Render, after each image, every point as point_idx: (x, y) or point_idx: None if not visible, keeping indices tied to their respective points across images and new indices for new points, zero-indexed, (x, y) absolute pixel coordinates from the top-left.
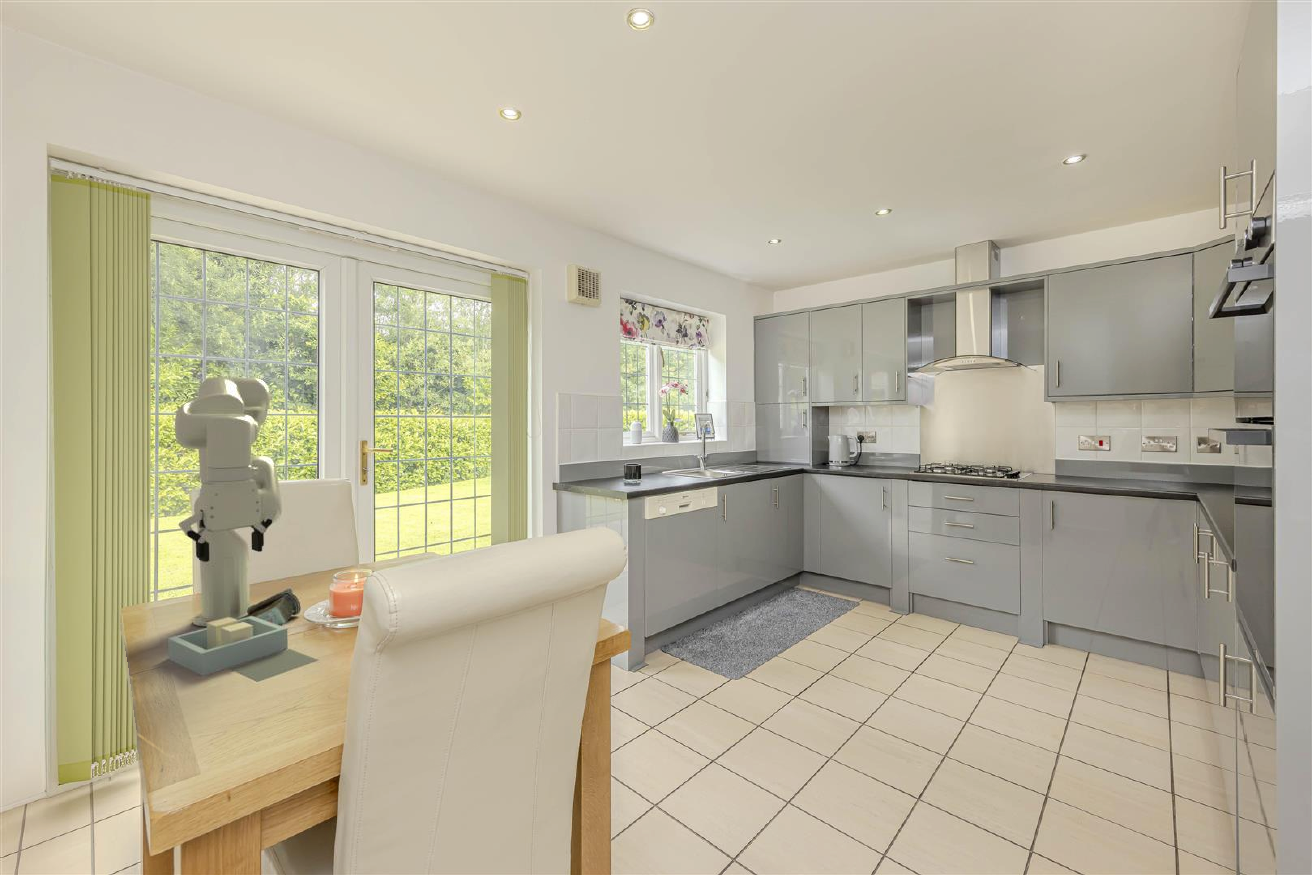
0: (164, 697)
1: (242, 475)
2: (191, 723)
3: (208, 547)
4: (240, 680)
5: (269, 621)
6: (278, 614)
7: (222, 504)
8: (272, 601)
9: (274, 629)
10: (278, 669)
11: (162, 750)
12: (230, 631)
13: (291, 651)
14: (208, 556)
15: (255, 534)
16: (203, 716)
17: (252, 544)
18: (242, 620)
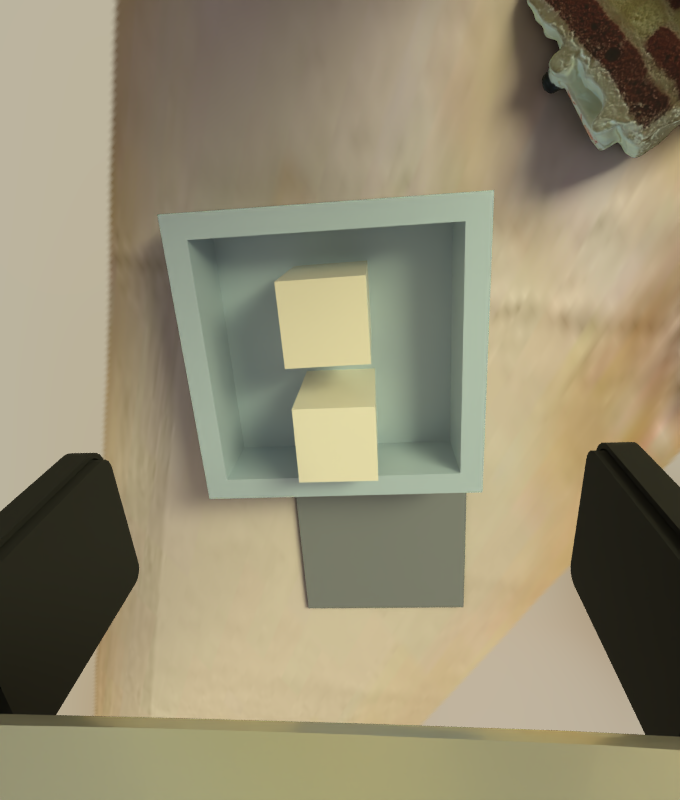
0: (139, 512)
1: None
2: (160, 669)
3: (61, 695)
4: (289, 559)
5: (584, 126)
6: (627, 148)
7: None
8: None
9: (459, 443)
10: (371, 583)
11: (110, 716)
12: (300, 479)
13: (458, 494)
14: (113, 608)
15: (678, 706)
16: (182, 660)
17: (611, 505)
18: (438, 222)
